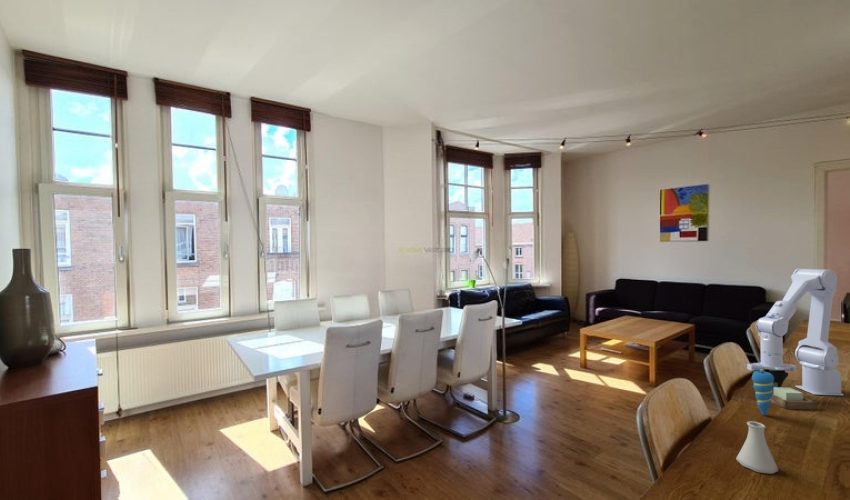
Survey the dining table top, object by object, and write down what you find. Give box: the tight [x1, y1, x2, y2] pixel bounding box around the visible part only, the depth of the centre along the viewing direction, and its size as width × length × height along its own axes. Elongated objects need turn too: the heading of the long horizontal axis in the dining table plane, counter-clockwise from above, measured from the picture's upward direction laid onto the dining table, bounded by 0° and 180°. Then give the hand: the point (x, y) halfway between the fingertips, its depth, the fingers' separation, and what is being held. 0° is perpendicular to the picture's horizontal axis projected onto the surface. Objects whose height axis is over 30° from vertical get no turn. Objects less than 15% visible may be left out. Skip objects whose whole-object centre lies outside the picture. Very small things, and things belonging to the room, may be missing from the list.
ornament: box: [751, 369, 774, 416], centre depth 116 cm, size 5×5×15 cm
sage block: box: [772, 381, 804, 401], centre depth 128 cm, size 10×5×5 cm, turn 175°
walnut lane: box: [771, 394, 817, 410], centre depth 124 cm, size 8×9×2 cm
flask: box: [735, 421, 779, 475], centre depth 90 cm, size 7×7×10 cm
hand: (771, 391), depth 131 cm, fingers closed on sage block
